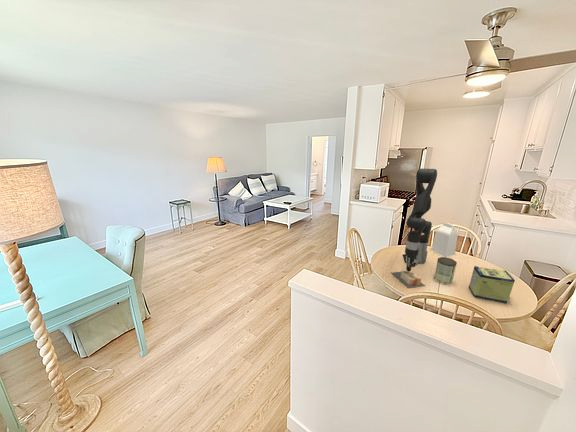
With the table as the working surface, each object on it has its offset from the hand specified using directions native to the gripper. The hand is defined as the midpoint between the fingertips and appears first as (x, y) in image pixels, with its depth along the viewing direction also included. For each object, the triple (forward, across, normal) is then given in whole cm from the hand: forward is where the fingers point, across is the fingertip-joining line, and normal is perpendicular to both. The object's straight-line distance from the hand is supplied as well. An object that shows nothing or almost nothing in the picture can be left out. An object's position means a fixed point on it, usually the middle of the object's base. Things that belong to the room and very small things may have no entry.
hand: (408, 270), depth 148 cm
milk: (+7, +28, -54) cm, 61 cm away
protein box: (+7, -24, -35) cm, 43 cm away
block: (+4, +2, 0) cm, 4 cm away
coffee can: (+7, -5, -23) cm, 25 cm away
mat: (+6, 0, 0) cm, 7 cm away
